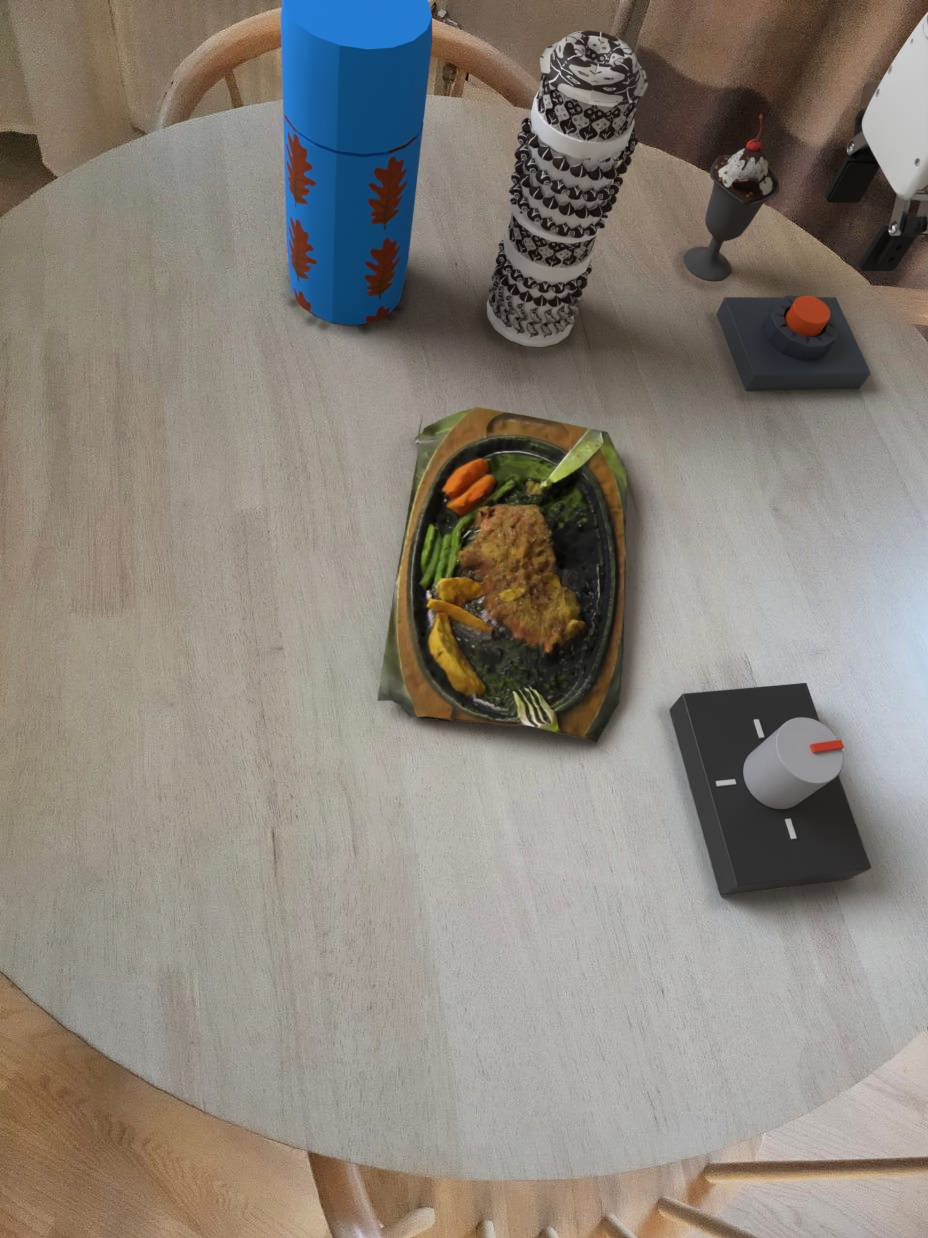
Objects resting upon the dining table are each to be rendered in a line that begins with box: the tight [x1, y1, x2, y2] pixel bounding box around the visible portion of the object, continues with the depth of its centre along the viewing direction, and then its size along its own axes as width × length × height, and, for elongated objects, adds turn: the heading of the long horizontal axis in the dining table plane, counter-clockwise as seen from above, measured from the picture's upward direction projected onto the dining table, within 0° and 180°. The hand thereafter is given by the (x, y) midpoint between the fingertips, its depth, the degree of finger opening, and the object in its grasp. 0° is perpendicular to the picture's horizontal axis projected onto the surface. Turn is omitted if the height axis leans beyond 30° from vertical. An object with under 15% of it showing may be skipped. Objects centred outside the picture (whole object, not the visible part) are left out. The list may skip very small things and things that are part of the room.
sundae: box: [683, 113, 780, 282], centre depth 90 cm, size 7×7×15 cm
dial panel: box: [669, 682, 872, 897], centre depth 68 cm, size 14×10×3 cm
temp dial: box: [743, 717, 845, 809], centre depth 64 cm, size 5×5×6 cm
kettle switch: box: [786, 295, 830, 337], centre depth 89 cm, size 4×4×2 cm
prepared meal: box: [377, 406, 628, 744], centre depth 74 cm, size 28×4×18 cm
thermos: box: [280, 0, 433, 326], centre depth 77 cm, size 11×11×25 cm
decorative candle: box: [486, 29, 649, 348], centre depth 79 cm, size 9×9×25 cm
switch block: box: [716, 295, 872, 392], centre depth 91 cm, size 12×10×4 cm
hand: (858, 232), depth 80 cm, fingers open, 7 cm apart
